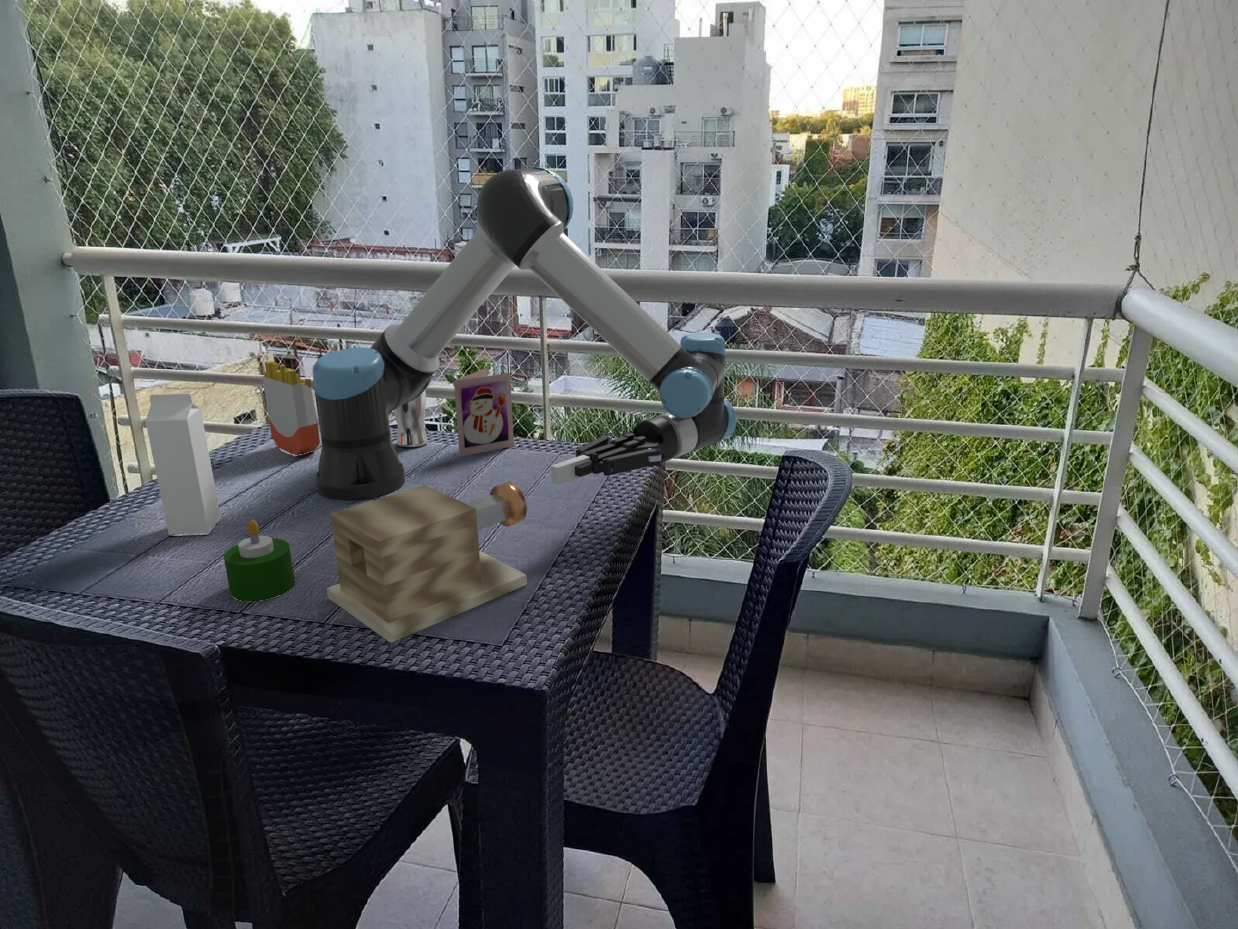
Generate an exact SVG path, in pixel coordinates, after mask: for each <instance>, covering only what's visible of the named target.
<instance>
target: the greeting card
mask: <svg viewBox="0 0 1238 929" xmlns="http://www.w3.org/2000/svg"><path fill="white" fill-rule="evenodd" d="M488 369H489V368H488V367H485V368H482V369H480V370H478V371H475V372H473V373H470V374H468V375H464V376H462V377H460V378H458V379H455V380H453V386H454V387H453V388H454V389H453V390H454V399H455V400H454V401H455V411H456V425H457V426H456V428H457V440H458V452H459V454H458V455H459V457H462V456H467V455H474V454H479V453H484V452H490V451H495V450H502V449H505V448H512V447H514V446H515V441H514V440H515V439H514V438H515V437H514V424H513V423H514V422H513V421H514V420H513V418H514V417H513V403H512V400H513V399H512V384H511V383H512V382H511V372H507V373H501V374H500V373H499V374H493V375H489V371H488Z"/></svg>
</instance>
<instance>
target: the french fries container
mask: <svg viewBox="0 0 1238 929" xmlns="http://www.w3.org/2000/svg"><path fill="white" fill-rule="evenodd" d="M264 367H265V371H264V372H263V376H262V377H261V378H262V383H263V392H264V396H265V403H266V409H267V416H268V421H269V422H268V423H269V429H270V436H271V438H272V440H273V442H274V443H275V445H276V447H277V448H278V449H279V448H281V449H283V450H285V451H287V452H289V453H291V454H295V455H299V454H304V453H307V452H310V451H314V450H315V451H316V449H318V447H319V445H320V444H321V440H320V439H321V437H320V430H319V422H318V417H317V414H316V407H315V401H314V396H313V391H312V389H313V388H312V379H311V378H304V379H303V378H301V374H299V373H297V372H296V369H294V368H293V369H291V368H290V367H288V368H286V364H279V363H277V362H275V361H273V360H268V361H264ZM315 451H314V452H315ZM304 455H305V454H304Z"/></svg>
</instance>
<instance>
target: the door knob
mask: <svg viewBox="0 0 1238 929" xmlns="http://www.w3.org/2000/svg"><path fill="white" fill-rule="evenodd" d="M489 492H490V493H489V495H487V496H484V497H481V498H478V499H476V500H473V501H470V502H466V503H465V504H467V505H469V506H472V507H474V508H476V513H477V527H478V531H480V530H483V529H486V528H488V527H492V526H494V525H497V524H499V525H502V526H503V527H506V528H507V527H508V528H509V527H512V526H514V525H516V524H519V523H522V522H523V521H524V520H525V519H526V517H527V511H528V507H527V501H526V498H525V495H524V493H523V492H522V490H521V488H520V487H519V486H518V485H517V484H515V483H514V482H511V481H510V482H509V481H508V482H504V483H501V484H499V485H495V486H493V487H492V489H491V490H490V491H489Z"/></svg>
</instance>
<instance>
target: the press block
mask: <svg viewBox="0 0 1238 929" xmlns="http://www.w3.org/2000/svg"><path fill="white" fill-rule="evenodd" d="M330 519H331V520H330V521H331V529H332V534H333V543H334V550H335V557H336V566H337V571H338V572H337V573H338V580H339V583H337V584H334V585H331V586H329V587H326V593H327V599H328V600H330V601H331V602H333V603H334V604H336V605H337V606H338V607H339V608H341V609H342V610H344V611H346V612H347V613H348V614H349V615H351V616H352V617H354V618H355V619H357V620H358V621H359V622H361V623H362V624H363V625H365V626H366V627H368V628H370V629H371V630H372V631H373V632H375V633H376V634H377V635H379V636H381V637H382V638H383V639H385V640H386V641H387V642H388V643H390V644H392V643H395V642H397V641H399V640H402V639H404V638H407V637H409V636H410V635H414V634H415V633H418V632H419V631H423V630H425V629H427V628H429V627H432V626H434V625H437V624H440V623H441V622H443V621H446V620H448V619H450V618H452V617H455V616H457V615H458V616H459V614H463V613H464V612H467V611H469V610H472V609H474V608H476V607H478V606H481V605H483V604H486V603H487V602H490V601H492V600H494V599H497V598H499V597H501V596H504V595H507V594H509V593H511V592H513V591H516V590H518V589H521V588H523V587H525V586H527V585H528V582H527V581H528V579H527V577H528V576H527V574H525V573H523V572H522V571H520V570H518V569H516V568H514V567H512V566H510V565H508V564H507V563H504V562H502V561H500V560H499V559H497V558H494V557H492V556H490V555H489V554H486V553H484V552H483V551H481V550H480V544H479V543H480V542H479V530H478V527H477V513H476V508H474V507H472V506H469V505H467V504H466V503H465V502H463V501H461V500H459V499H456V498H454V497H452V496H450V495H447V494H445V493H444V492H441V491H439V490H436V489H434V488H433V487H430V486H428V485H426V484H424V485H423V484H422V485H420V486H417V487H414V488H411V489H406V490H403V491H401V492H397V493H394V494H391V495H388V496H385V497H381V498H377V499H374V500H372V501H368V502H365V503H361V504H359V505H355V506H351V507H348V508H344V509H342V510H338V511H335V512H332V513H330ZM401 638H402V639H401Z"/></svg>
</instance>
